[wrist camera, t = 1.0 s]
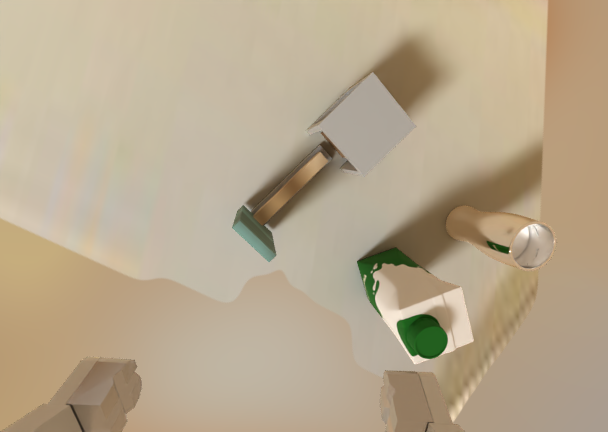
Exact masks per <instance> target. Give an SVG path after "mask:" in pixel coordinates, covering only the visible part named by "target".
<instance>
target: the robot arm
mask: <svg viewBox="0 0 608 432" xmlns="http://www.w3.org/2000/svg"><path fill="white" fill-rule="evenodd" d="M136 368H137V365H136V362H135V360H129V359H115V358H102V357H86V358H84V359H83V360H82V361H80V363H79V364H78V365H77V367H76V368H75V369H74V371H73V372H72V373H71V375H70V376H69V377H68V378H67V380H66V381H65V382H64V383H63V385H62V386H61V387H60V389H59V390H58V391H57V393H56V394H55V395H54V396H53V398H52V399H51V400H50V402H49V403H48V404H42V405H40V406H39V407H37V408H36V409H34V410H33V411H31V412H30V413H28V414H27V415H25V416H23V417H22V418H20V419H19V420H17V421H16V422H14V423H13V424H11V425H10V426H8V427H6V428H5V429H3V430H2V431H0V432H122V430H123V428H124V426H125V425H126V422H127V416H126V414H127V413H128V412H129V411H130V410H132V409H133V408H134V407H135V405H136V403H137V401H138V399H139V396H140V392H141V386H142V382H141V378H140V376H139V375H138V374H137V373H135V372H134V371H135V369H136ZM383 382H384V386H382V387H381V392H380V408H381V416H382V420H383V421H384V422H385V423H386V430H385V432H465V431H464V430H463V429H462V428H461V427H460V426H459V425H457V424H453V423H452V420H451V417H450V415H449V412H448V409H447V406H446V404H445V401H444V398H443V395H442V393H441V390H440V387H439V384H438V382H437V379H436V376H435V375H434V373H432V372H415V371H386V370H385V372H384V375H383Z"/></svg>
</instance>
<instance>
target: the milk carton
mask: <svg viewBox="0 0 608 432" xmlns="http://www.w3.org/2000/svg"><path fill="white" fill-rule="evenodd" d="M357 264H358V267H359V270H360V274H361V277H362V280H363V284H364V287H365V291H366V294H367V297H368V299H369V301H370V303H371V304H372V305H373V307H374V308H375V309H376V311H377V312H378V313H379V314H380V316H381V317H382V318H383V320H384V321H385V322H386V324H387V325H388V326H389V328H390V329H391V330H392V331H393V333H394V334H395V335H396V337H397V338H398V340H399V341H400V343H401V344H402V346H403V347H404V349H405V350H406V352H407V353H408V355H409V356H410V358H411V360H412V361H413V363H414V364H418V363H421V362H424V361H426V360H429V359H432V358H435V357H438V356H440V355H442V354H445V353H449V352H452V351H454V350H455V348H458V347H460V346H463V345H466V344H468V343H471V342H473V341H474V340H473V335H472V331H471V326H470V322H469V318H468V313H467V309H466V304H465V300H464V295H463V291H462V287H460V286H457V285H454V284H451V283H447V282H444V281H441V280H440V279H438V278H437V277H435V276H434V275H432V274H431V273H429V272H428V271H426V270H425V269H423V268H422V267H421V266H419V265H418V264H416V263H415V262H414V261H412V260H411V259H410V258H409V257H407V256H406V255H405V254H404V253H402V252H401V251H400V250H399V249H397V248H393V249H390V250H388V251H385V252H382V253H379V254H377V255H374V256H371V257H368V258H365V259H363V260H360V261H357Z"/></svg>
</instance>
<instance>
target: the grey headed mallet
mask: <svg viewBox="0 0 608 432" xmlns="http://www.w3.org/2000/svg"><path fill="white" fill-rule="evenodd" d="M415 127H416V125H415V124H414V123H413V121H412V120H411V119H410V118H409V116H408V115H407V114H406V113H405V111H404V110H403V109H402V108H401V106H400V105H399V104H398V103H397V101H396V100H395V99H394V98H393V96H392V95H391V94H390V93H389V91H388V90H387V89H386V88H385V86H384V85H383V84H382V83H381V81H380V80H379V79H378V78H377V76H376V75H375V74H374V73H373V72H372V73H370V74H369V75H368V76H366V77H365V78H363V79H362V80H361V81H359V82H358V83H356V84H355V85H353V86H352V87H351V88H349V89H348V90H347V91H346V92H345V93H344V94H343V95H342V96H341V97H340V98H339V99H338V100H337V101H336V102H335V103H334V104H333V105H332V106H331V107H330V108H329V109H328V110H327V111H326V112H325V113H324V114H323V115H322V116H320V117H319V118H318V119H317V120H316V121H315V122H314V123H313V124H312V125H311V126H310V127H309V128H308V129H307V130H306V132H307V133H308V134H309V135H310V134H313V133H316V132H319V131H322V132H323V133H324V134H325V135H326V136H327V137H328V138H329V139H330V141H331V142H332V143H333V144H334V145H335V146H336V147H337V148H338V150H339V151H340V152H341V153H342V154H343V155H344V156H345V157H346V158H347V160H348V161H347V162H346V163H345V164H344V165H343V166H342V167H341V168H340V169H341V170H342V171H343V172H345V173H350V174H355V175H359V176H364V177H365V176H366V175H367V174H368V173H369V172H370V171H371V170H372V169H373V168H374V167H375V166H376V165H377V164H378V163H379V162H380V161H381V160H382V159H383V158H384V157H385V156H386V155H387V154H388V153H389V152H390V151H391V150H393V149H394V148H395V147H396V146H397V145H398V144H399V143H400V142H401V141H402V140H403V139H404V138H405V137H406V136H407V135H408V134H409V133H410V132H411V131H412V130H413V129H414V128H415ZM318 152H321V153H322V155H323V156H324V157H325V158H326V159H327V160H328V162H329V161H330V160H332V158H331V157H330V156H329V154H328V153H327V152H326V151H325V150H324V149H323V148H322V147H321V146H320V145H318V146H317V147H316V148H315V149H314V150H313V151H312V152H311V153H310V154H309V155H308V156H307V157H306V158H305V159H304V160H303V161H302V162H301V163H300V164H299V165H298V166H297V167H296V168H295V169H294V170H293V171H292V172H291V173H290V174H289V175H288V176H287V177H286V178H285V179H284V180H283V181H282V182H281V183H280V184H279V185H277V186H276V187H275V188H274V189H273V190H272V191H271V192H270V193H269V194H268V195H267V196H266V197H265V198H264V199H263V200H262V201H261V202H260V203H259V204H258V205H257V206H256V207H255V208H254V209H253V210H252V211H251V213H252V214H253V215H254V214H255V213H256V212H257V211H258V210H259V209H260V208H261V207H262V206H263V205H264V204H265V203H266V202H267V201H268V200H269V199H270V198H271V197H272V196H274V195H275V194H276V193H277V192H278V191H279V190H280V189H281V188H282V187H283V186H284V185H285V184H286V183H287V182H288V181H289V180H290V179H291V178H292V177H293V176H294V175H295V174H296V173H297V172H298V171H299V170H300V169H301V168H302V167H303V166H304V165H305V164H306V163H307V162H308V161H309V160H310V159H311V158H312V157H313V156H314V155H315V154H316V153H318ZM328 162H327V163H328ZM327 163H326V164H327ZM326 164H325V165H326ZM325 165H324V166H325ZM324 166H323V167H324ZM323 167H322V168H323ZM322 168H321V169H322ZM321 169H320V170H321ZM320 170H319V171H320ZM319 171H318V172H319ZM318 172H317V173H318ZM317 173H316V174H317ZM316 174H315V175H316ZM315 175H314V176H315ZM314 176H313V177H314ZM313 177H312V178H313ZM312 178H311V179H312ZM311 179H310V180H311ZM310 180H309V181H310ZM309 181H308V182H309ZM308 182H307V183H308ZM307 183H306V184H307ZM306 184H305V185H306ZM305 185H304V186H305ZM304 186H303V187H304ZM303 187H302V188H303ZM302 188H301V189H302ZM301 189H299V190H298V191H297V192H296V193H295V194H294V195H293V196H292V197H291V198H290V199H292V198H293V197H294V196H295V195H296V194H297V193H298V192H299V191H300V190H301ZM290 199H289V200H290ZM289 200H288V201H289ZM288 201H287V202H288ZM287 202H286V203H287ZM286 203H285V204H286ZM285 204H284V205H285ZM284 205H283V206H284ZM283 206H282V207H283ZM282 207H281V208H282ZM281 208H280V209H281ZM280 209H279V210H280ZM279 210H278V211H279ZM278 211H277V212H278ZM277 212H276V213H277ZM276 213H275V214H276ZM275 214H274V215H275ZM274 215H273V216H274ZM273 216H272V217H273ZM272 217H271V218H272ZM271 218H270V219H271ZM270 219H269V220H270ZM269 220H268V221H269ZM268 221H267V222H268ZM267 222H266V223H267ZM266 223H265V224H266ZM265 224H264V225H265Z"/></svg>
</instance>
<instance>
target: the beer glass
mask: <svg viewBox="0 0 608 432" xmlns="http://www.w3.org/2000/svg"><path fill="white" fill-rule="evenodd" d="M446 230H447V233H448V234H449V235H450V236H451V237H452V238H453V239H456V240H459V241H466V242H469V243H471V244H472V245H473V246H475V247H476V248H477V249H479V250H480V251H481V252H483V253H484V254H486V255H487V256H489V257H490V258H493V259H495V260H497V261H499V262H501V263H504V264H507V265H510V266H513V267H516V268H519V269H521V270H524V271H534V270H537V269H540V268H541V267H543V266H544V265H545V264H547V263H548V262H549V260H550V259H551V258H552V256H553V254H554V252H555V249H556V235H555V233H554V231H553V229H552V228H551V227H550V226H549V225H548V224H546V223H544V222H540V221H537V220H534V219H531V218H528V217H525V216H521V215H518V214H513V213H506V212H481V211H478V210H476V209H474V208H473V207H470V206H467V205H462V206H458V207H456V208H454V209H453V210H452V211H451V212H450V213H449V215H448V217H447V219H446Z"/></svg>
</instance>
